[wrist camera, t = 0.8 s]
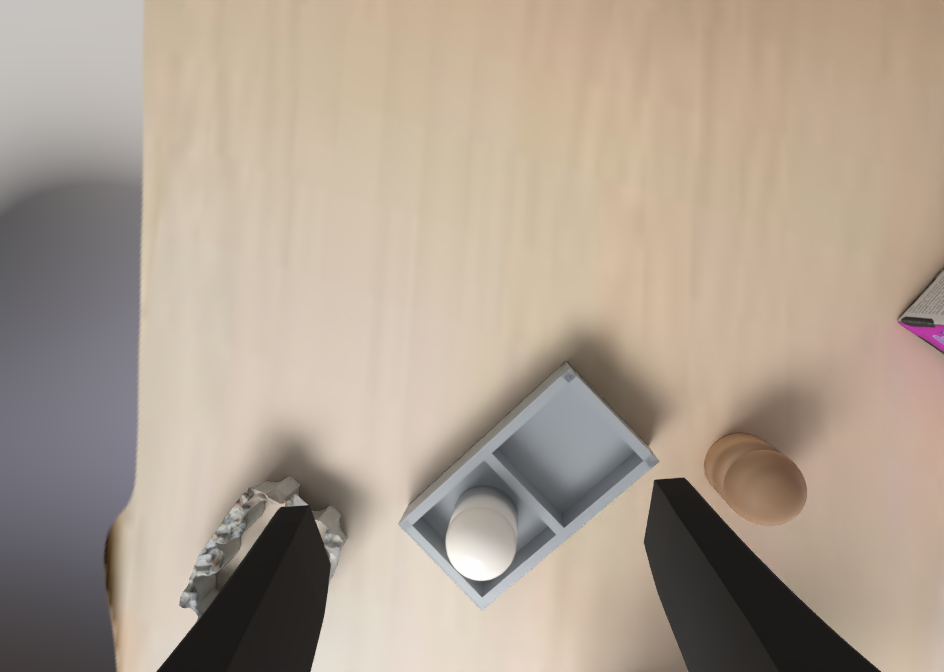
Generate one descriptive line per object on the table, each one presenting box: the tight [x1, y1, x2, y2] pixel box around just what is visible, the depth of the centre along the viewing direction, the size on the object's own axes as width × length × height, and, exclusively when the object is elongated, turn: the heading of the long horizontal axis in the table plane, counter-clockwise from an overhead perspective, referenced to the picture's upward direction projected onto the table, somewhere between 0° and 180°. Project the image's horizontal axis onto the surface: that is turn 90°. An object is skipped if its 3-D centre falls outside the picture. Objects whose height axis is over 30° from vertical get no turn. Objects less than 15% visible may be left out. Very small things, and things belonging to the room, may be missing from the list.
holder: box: [398, 362, 659, 610], centre depth 30 cm, size 7×14×2 cm, turn 134°
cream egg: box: [445, 486, 518, 581], centre depth 29 cm, size 4×4×5 cm
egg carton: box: [180, 476, 347, 620], centre depth 32 cm, size 11×8×4 cm
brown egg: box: [704, 433, 807, 526], centre depth 28 cm, size 4×4×5 cm
